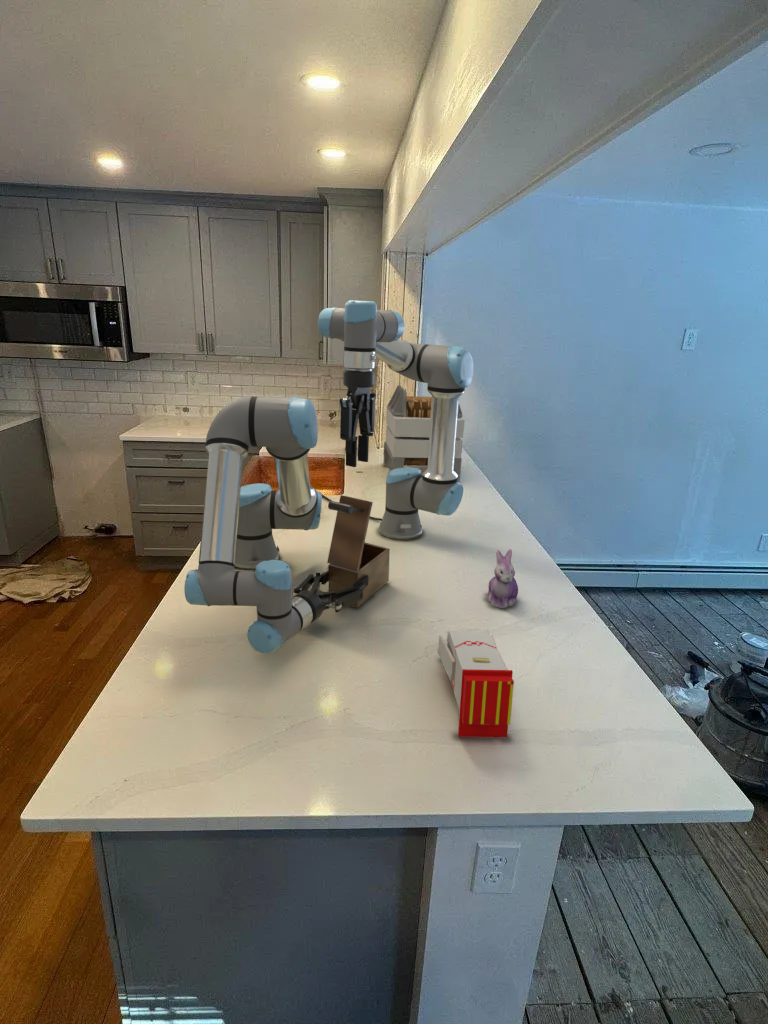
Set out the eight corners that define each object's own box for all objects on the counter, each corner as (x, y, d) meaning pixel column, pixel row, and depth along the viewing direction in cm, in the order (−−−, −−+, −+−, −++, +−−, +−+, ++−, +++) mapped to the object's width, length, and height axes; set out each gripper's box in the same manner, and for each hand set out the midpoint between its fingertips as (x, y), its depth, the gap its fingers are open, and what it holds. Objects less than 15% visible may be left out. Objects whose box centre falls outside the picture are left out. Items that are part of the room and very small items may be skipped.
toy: (488, 613, 130) (523, 677, 101) (484, 667, 133) (517, 744, 104) (435, 612, 130) (455, 676, 101) (432, 666, 133) (451, 743, 103)
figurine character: (357, 457, 303) (357, 447, 317) (357, 444, 300) (358, 434, 313) (344, 457, 303) (345, 447, 317) (344, 443, 300) (345, 434, 313)
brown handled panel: (342, 495, 149) (325, 492, 141) (372, 502, 145) (356, 499, 137) (329, 562, 150) (311, 564, 142) (358, 571, 146) (341, 573, 138)
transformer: (382, 463, 289) (386, 382, 275) (445, 464, 293) (451, 384, 279) (390, 482, 257) (394, 392, 243) (460, 483, 261) (468, 394, 247)
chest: (361, 573, 168) (361, 541, 164) (388, 580, 164) (389, 548, 160) (328, 598, 154) (328, 564, 150) (357, 608, 150) (357, 573, 146)
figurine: (500, 612, 150) (506, 561, 145) (477, 595, 159) (482, 546, 153) (527, 605, 154) (535, 555, 149) (504, 589, 163) (510, 541, 158)
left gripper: (265, 611, 140) (317, 577, 159) (340, 637, 130) (386, 598, 149) (264, 584, 137) (317, 553, 156) (340, 609, 128) (387, 572, 147)
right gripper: (352, 373, 126) (350, 474, 134) (390, 367, 141) (387, 458, 149) (324, 370, 129) (324, 469, 137) (364, 365, 144) (362, 454, 153)
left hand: (351, 575), depth 153 cm, fingers closed on chest, 9 cm apart
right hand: (357, 463), depth 143 cm, fingers open, 5 cm apart
